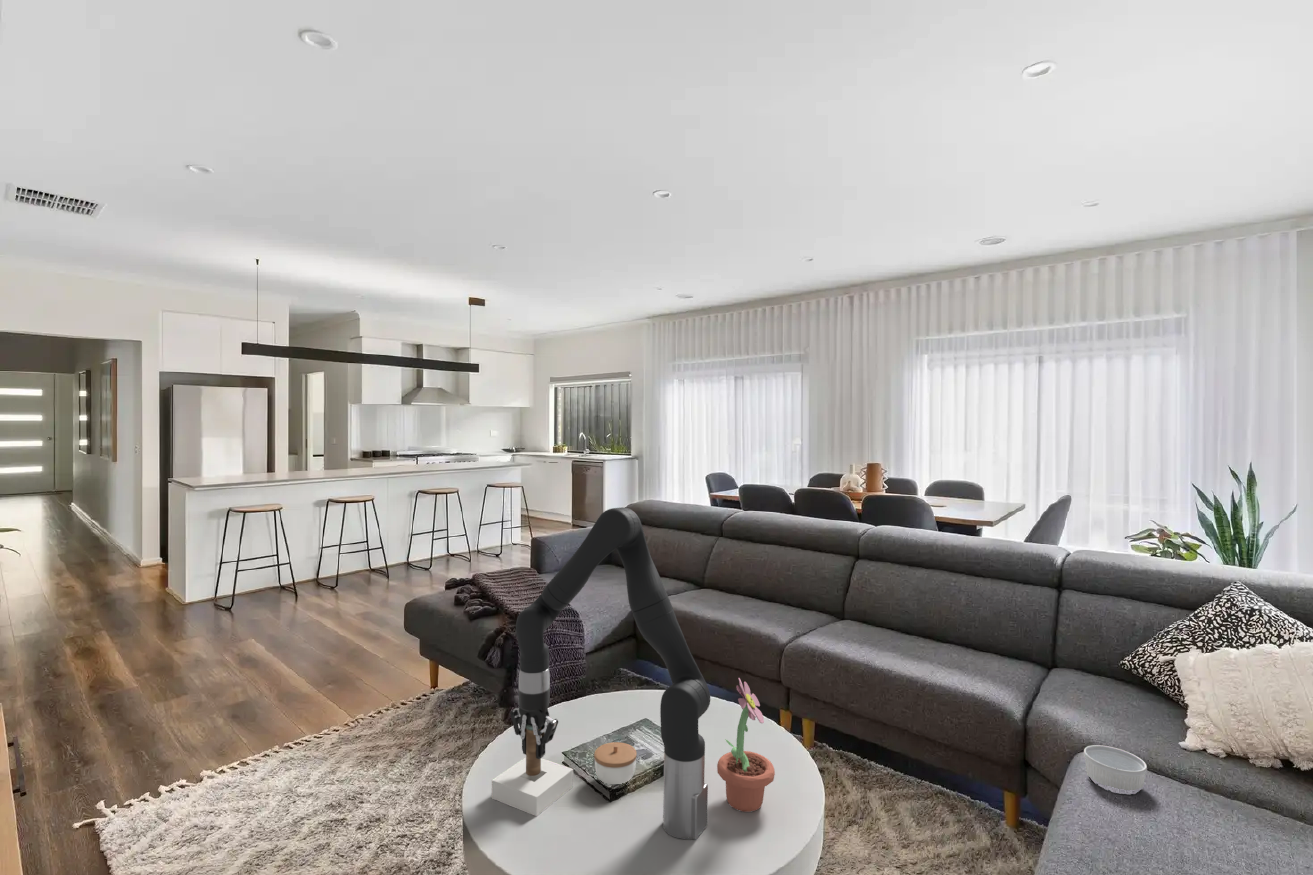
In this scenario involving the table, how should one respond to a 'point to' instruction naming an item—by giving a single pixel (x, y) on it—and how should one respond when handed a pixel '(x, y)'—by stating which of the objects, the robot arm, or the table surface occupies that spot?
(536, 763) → the walnut dowel
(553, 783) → the socket block
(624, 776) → the lidded jar
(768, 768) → the decorative flower
